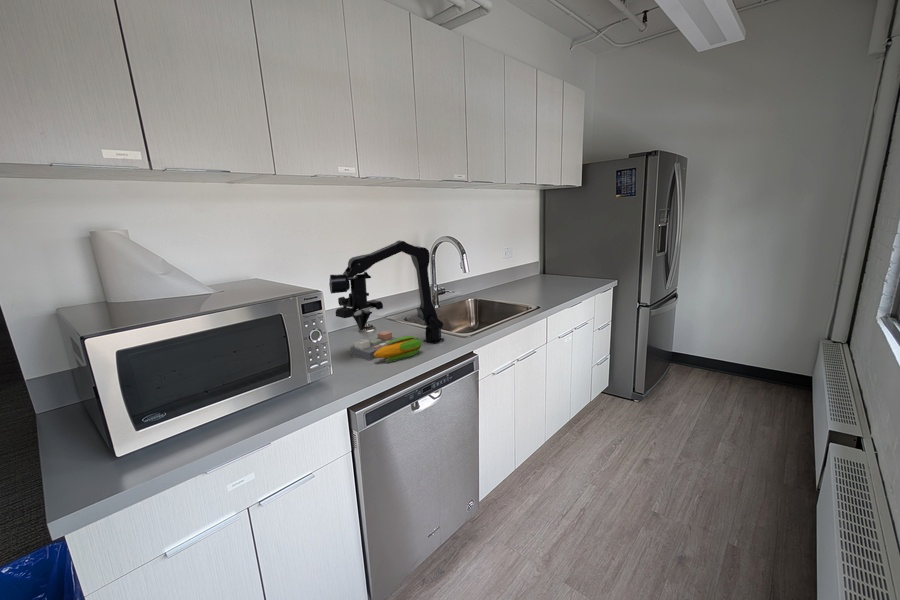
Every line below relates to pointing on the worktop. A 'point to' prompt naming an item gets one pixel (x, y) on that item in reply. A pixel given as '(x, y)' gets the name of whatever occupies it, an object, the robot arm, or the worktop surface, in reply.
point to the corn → (399, 348)
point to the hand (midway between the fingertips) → (361, 330)
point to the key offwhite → (362, 344)
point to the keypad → (370, 350)
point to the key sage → (375, 341)
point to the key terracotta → (384, 335)
